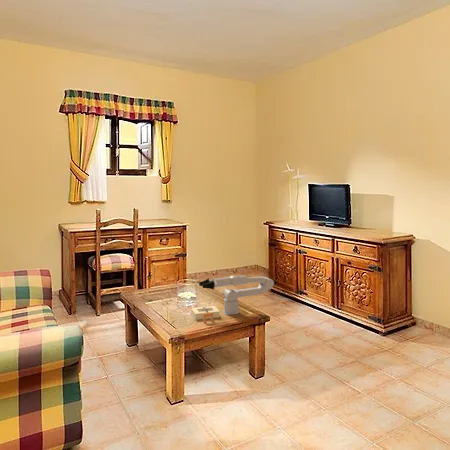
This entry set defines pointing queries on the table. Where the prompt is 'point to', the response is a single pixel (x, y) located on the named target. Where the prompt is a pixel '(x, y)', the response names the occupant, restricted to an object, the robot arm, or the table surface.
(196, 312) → the cream frame with crossbar
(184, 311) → the table surface
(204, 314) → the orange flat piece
